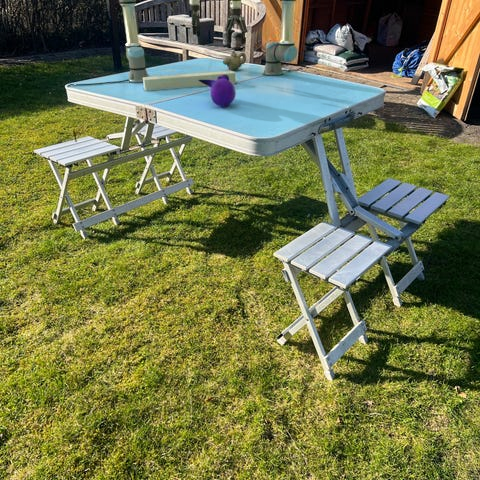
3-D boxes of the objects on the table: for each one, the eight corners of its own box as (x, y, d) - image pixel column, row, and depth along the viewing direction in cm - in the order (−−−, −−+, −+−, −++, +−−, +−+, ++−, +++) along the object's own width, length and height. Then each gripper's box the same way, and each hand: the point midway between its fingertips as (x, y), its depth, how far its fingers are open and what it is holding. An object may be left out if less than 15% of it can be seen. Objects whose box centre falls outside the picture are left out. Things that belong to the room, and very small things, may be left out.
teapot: (226, 72, 363) (226, 52, 355) (220, 70, 372) (219, 50, 364) (249, 69, 372) (249, 50, 365) (242, 67, 381) (241, 48, 373)
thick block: (145, 91, 309) (144, 79, 305) (143, 88, 317) (142, 77, 314) (235, 83, 325) (235, 72, 321) (231, 81, 333) (231, 70, 330)
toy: (221, 97, 287) (235, 112, 266) (195, 92, 280) (207, 107, 259) (227, 72, 279) (242, 85, 258) (201, 67, 272) (213, 80, 251)
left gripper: (203, 5, 329) (204, 36, 339) (195, 3, 349) (197, 33, 360) (193, 5, 327) (195, 37, 338) (186, 4, 347) (188, 34, 358)
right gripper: (219, 7, 299) (220, 42, 310) (244, 9, 283) (244, 45, 294) (227, 7, 304) (228, 41, 314) (252, 8, 287) (252, 44, 298)
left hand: (196, 35), depth 349 cm, fingers open, 13 cm apart
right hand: (236, 43), depth 304 cm, fingers open, 13 cm apart
